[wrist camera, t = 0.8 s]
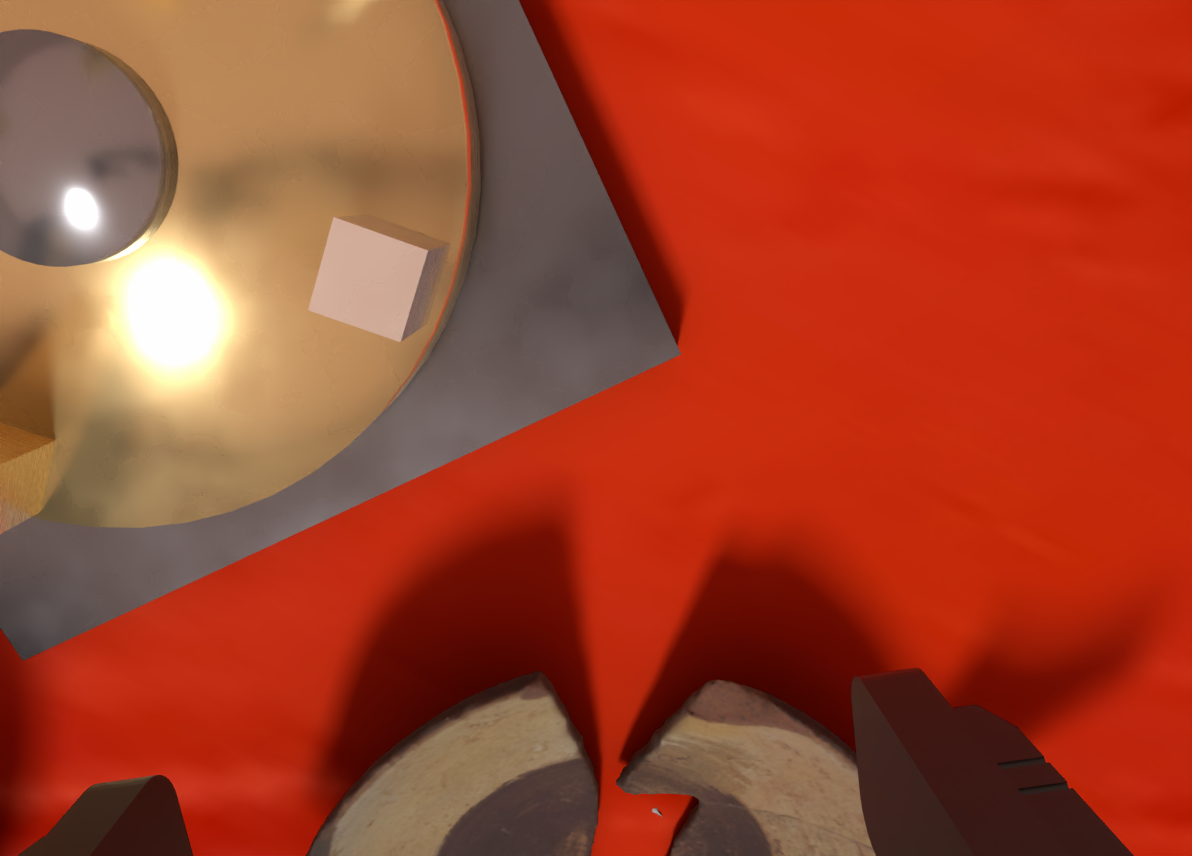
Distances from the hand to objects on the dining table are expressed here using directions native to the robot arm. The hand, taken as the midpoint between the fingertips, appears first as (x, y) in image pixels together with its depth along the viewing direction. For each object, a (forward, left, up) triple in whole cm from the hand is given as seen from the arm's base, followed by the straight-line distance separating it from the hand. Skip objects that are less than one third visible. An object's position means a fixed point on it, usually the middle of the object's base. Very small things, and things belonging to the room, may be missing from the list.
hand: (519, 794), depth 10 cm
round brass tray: (+9, -13, -20) cm, 25 cm away
